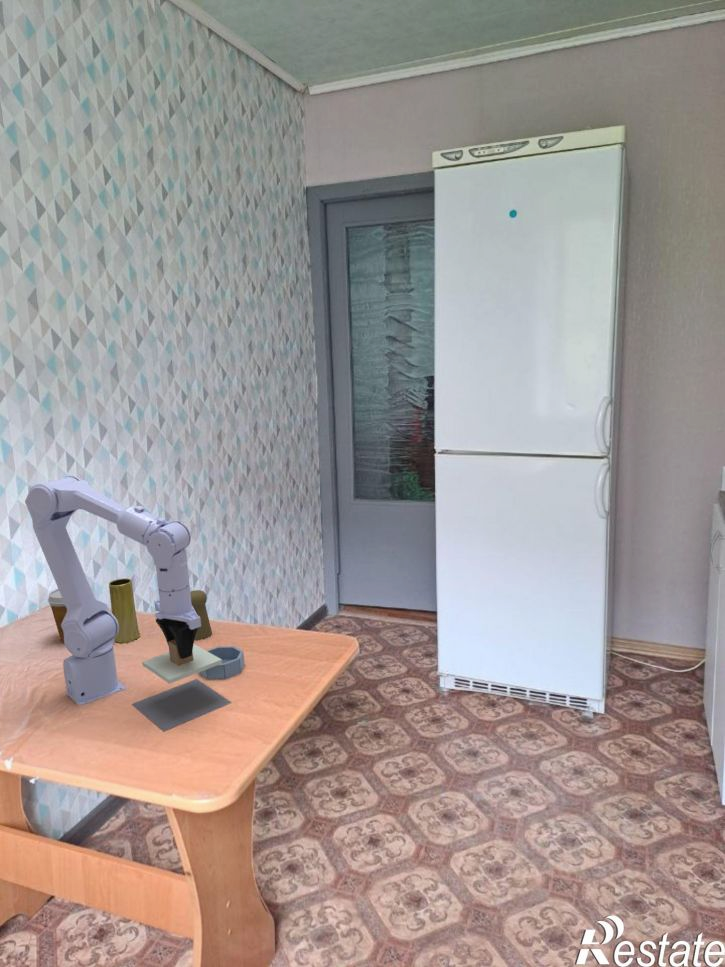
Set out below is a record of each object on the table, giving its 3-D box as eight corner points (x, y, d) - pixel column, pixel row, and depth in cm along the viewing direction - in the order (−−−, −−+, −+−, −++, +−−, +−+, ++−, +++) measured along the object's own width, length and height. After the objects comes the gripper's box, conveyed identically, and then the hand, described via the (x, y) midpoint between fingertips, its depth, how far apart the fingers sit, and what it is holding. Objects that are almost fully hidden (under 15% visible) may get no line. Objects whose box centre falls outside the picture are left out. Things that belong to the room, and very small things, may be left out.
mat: (163, 733, 121) (163, 731, 121) (131, 706, 131) (131, 704, 131) (232, 704, 130) (231, 702, 130) (196, 680, 140) (196, 678, 140)
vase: (108, 642, 162) (101, 585, 159) (124, 631, 168) (117, 577, 165) (130, 644, 160) (123, 587, 158) (145, 633, 166) (138, 578, 163)
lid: (169, 683, 123) (166, 659, 122) (142, 665, 131) (140, 642, 130) (222, 663, 130) (219, 639, 129) (193, 647, 138) (191, 625, 137)
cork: (208, 639, 161) (204, 595, 159) (183, 640, 161) (178, 596, 159) (214, 629, 167) (210, 587, 164) (190, 630, 167) (185, 588, 165)
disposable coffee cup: (95, 627, 172) (89, 582, 169) (95, 641, 163) (89, 594, 161) (54, 634, 168) (48, 588, 166) (52, 649, 160) (45, 601, 157)
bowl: (214, 685, 138) (212, 669, 137) (192, 671, 145) (191, 656, 144) (251, 670, 144) (250, 654, 143) (229, 657, 151) (228, 642, 150)
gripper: (137, 584, 130) (144, 649, 133) (172, 601, 120) (180, 672, 122) (170, 574, 135) (177, 638, 138) (208, 590, 124) (214, 659, 127)
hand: (181, 653), depth 130 cm, fingers closed on lid, 3 cm apart
